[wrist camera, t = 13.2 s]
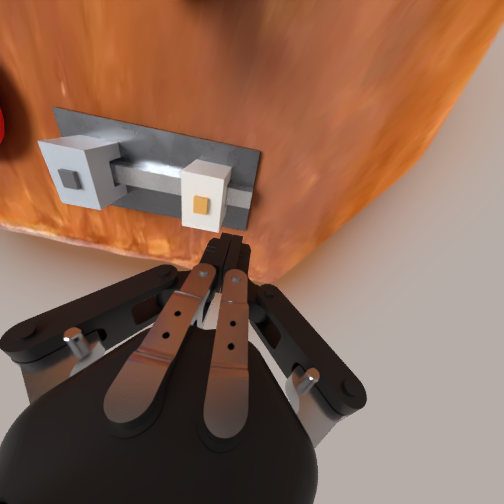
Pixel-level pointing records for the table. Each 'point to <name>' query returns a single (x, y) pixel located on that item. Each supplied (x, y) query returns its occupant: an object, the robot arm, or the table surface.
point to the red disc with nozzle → (1, 126)
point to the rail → (164, 164)
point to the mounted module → (83, 170)
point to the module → (204, 194)
